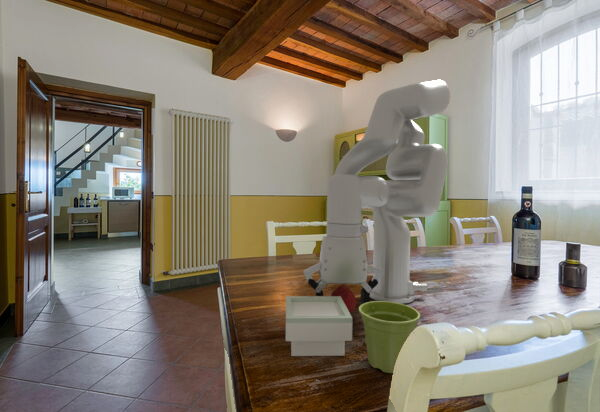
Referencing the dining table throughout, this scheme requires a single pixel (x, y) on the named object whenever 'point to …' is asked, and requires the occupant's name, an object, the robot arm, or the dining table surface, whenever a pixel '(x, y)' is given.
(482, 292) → the dining table surface
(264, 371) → the dining table surface
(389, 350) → the plant pot
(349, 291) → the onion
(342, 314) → the pedestal
